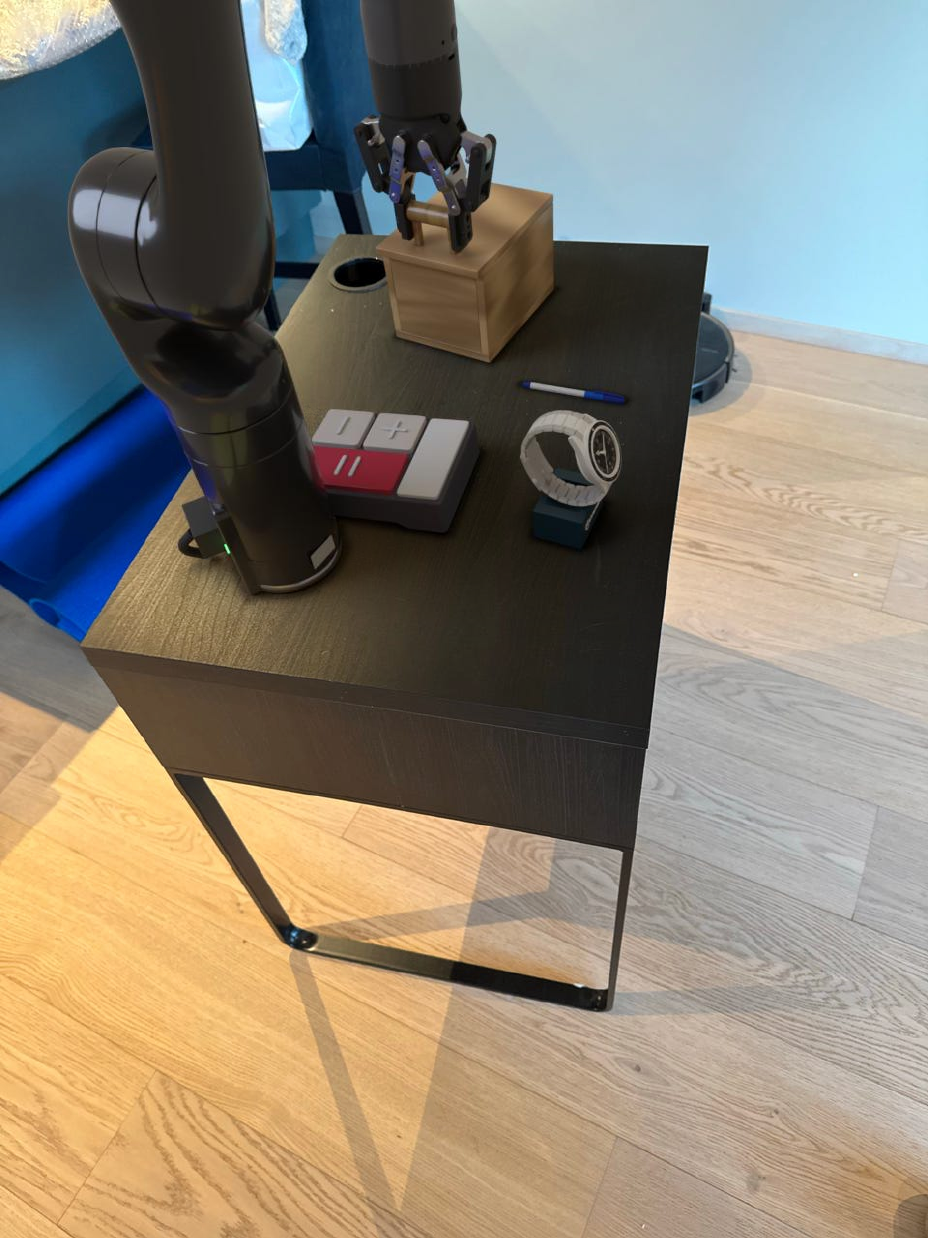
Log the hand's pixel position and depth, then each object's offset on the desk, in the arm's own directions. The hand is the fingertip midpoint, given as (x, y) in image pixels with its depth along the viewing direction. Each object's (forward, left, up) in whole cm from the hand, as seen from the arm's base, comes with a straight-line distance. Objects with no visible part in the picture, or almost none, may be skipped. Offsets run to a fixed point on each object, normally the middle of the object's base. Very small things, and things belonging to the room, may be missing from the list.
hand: (435, 241), depth 82 cm
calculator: (-14, -17, -12) cm, 25 cm away
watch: (-2, -30, -12) cm, 32 cm away
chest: (+5, +3, -11) cm, 13 cm away
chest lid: (+5, +3, -1) cm, 6 cm away
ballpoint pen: (+7, -15, -12) cm, 20 cm away
